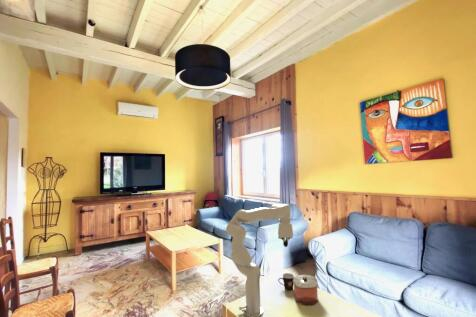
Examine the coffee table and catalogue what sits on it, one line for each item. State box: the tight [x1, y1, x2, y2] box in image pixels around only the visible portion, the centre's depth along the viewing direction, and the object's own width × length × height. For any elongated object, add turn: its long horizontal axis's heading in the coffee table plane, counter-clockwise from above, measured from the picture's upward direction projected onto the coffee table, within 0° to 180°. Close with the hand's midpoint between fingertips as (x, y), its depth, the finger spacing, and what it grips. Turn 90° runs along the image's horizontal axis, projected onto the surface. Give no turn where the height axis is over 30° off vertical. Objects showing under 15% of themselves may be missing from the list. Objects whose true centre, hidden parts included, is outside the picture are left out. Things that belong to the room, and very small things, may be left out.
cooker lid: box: [293, 274, 319, 288], centre depth 171 cm, size 17×17×3 cm
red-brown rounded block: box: [293, 284, 319, 306], centre depth 170 cm, size 16×16×11 cm
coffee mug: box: [278, 272, 295, 292], centre depth 186 cm, size 12×9×10 cm
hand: (285, 246), depth 175 cm, fingers closed
